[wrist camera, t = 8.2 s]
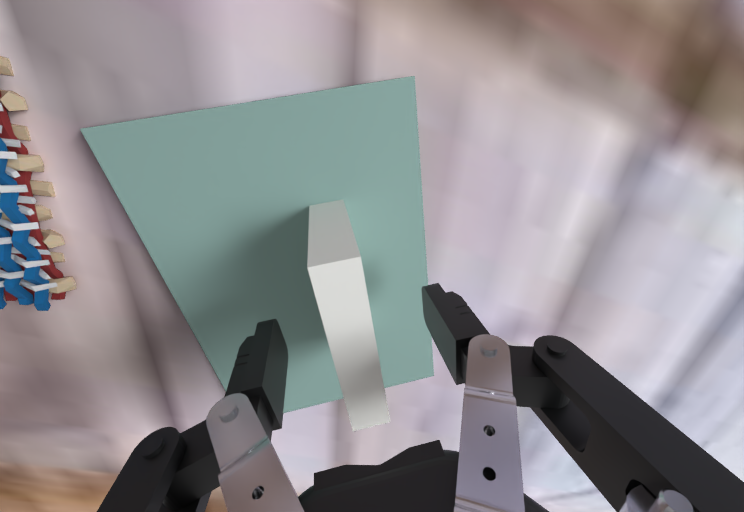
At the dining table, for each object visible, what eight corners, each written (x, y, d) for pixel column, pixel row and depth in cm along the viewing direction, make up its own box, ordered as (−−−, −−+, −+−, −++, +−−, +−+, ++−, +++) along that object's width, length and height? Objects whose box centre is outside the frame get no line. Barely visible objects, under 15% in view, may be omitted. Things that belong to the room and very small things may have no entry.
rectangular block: (341, 334, 18) (309, 205, 14) (367, 328, 18) (343, 199, 14) (353, 431, 13) (307, 267, 9) (390, 421, 13) (360, 256, 9)
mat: (93, 127, 12) (79, 128, 11) (409, 77, 13) (414, 75, 12) (245, 411, 21) (243, 422, 20) (429, 366, 22) (433, 375, 21)
